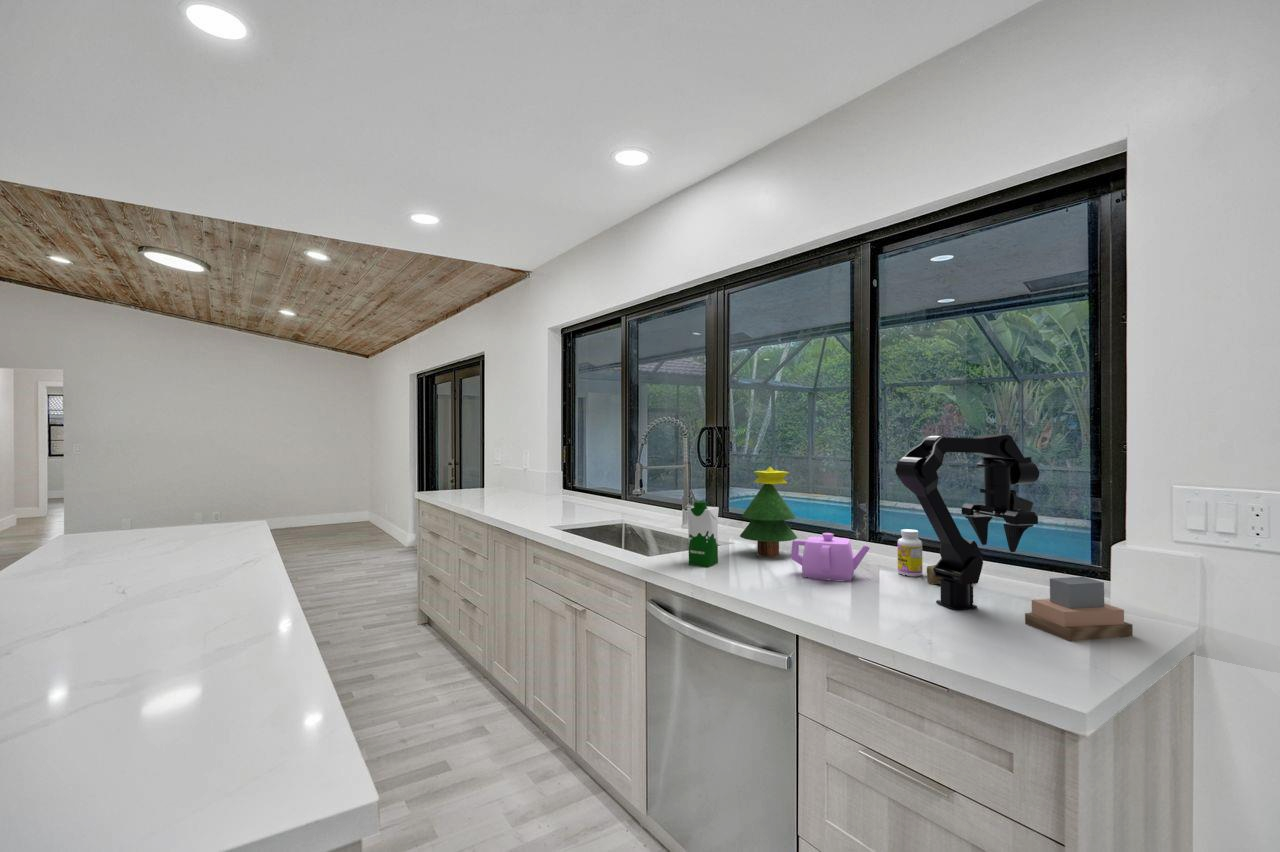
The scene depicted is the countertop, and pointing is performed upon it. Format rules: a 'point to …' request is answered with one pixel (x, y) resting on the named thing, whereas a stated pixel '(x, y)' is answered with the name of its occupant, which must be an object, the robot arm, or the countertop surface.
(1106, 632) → the base slab
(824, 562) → the teakettle
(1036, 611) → the top slab
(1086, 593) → the charcoal block
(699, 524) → the milk carton
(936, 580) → the stone block
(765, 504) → the decorative tree
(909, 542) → the supplement bottle
